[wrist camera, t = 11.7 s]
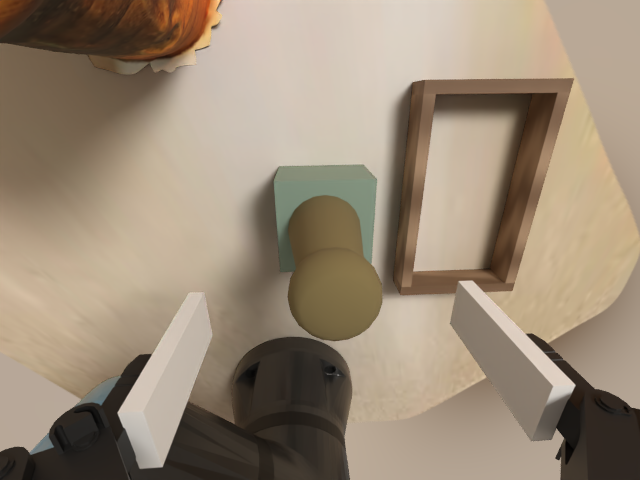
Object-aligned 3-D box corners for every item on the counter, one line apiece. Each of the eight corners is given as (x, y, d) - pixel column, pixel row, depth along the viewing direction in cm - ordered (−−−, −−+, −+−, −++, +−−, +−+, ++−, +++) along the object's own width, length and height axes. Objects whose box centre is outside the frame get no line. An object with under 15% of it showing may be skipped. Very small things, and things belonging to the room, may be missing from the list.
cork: (273, 237, 26) (254, 325, 16) (317, 179, 24) (327, 236, 14) (330, 274, 27) (346, 375, 17) (375, 223, 25) (422, 302, 15)
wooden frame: (496, 276, 35) (512, 290, 33) (393, 280, 35) (400, 295, 32) (546, 80, 27) (574, 78, 24) (412, 82, 27) (425, 79, 24)
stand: (359, 241, 33) (371, 268, 27) (284, 243, 32) (280, 272, 27) (363, 164, 29) (376, 179, 24) (279, 166, 29) (273, 181, 24)
